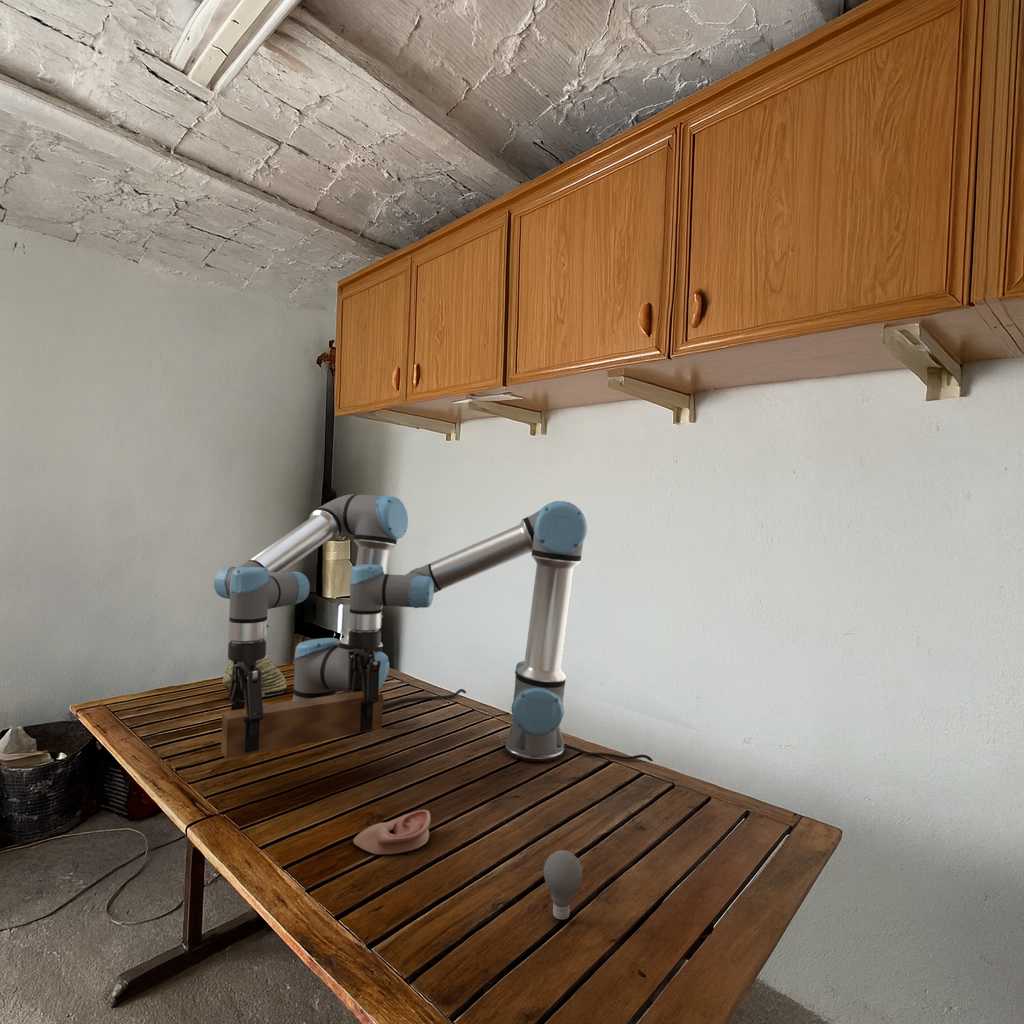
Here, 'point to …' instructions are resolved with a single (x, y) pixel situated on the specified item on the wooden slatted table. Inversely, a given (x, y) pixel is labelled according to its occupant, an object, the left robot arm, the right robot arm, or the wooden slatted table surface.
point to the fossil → (262, 677)
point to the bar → (299, 722)
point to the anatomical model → (396, 834)
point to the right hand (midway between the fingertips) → (361, 726)
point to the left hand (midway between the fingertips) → (243, 741)
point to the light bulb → (562, 880)
